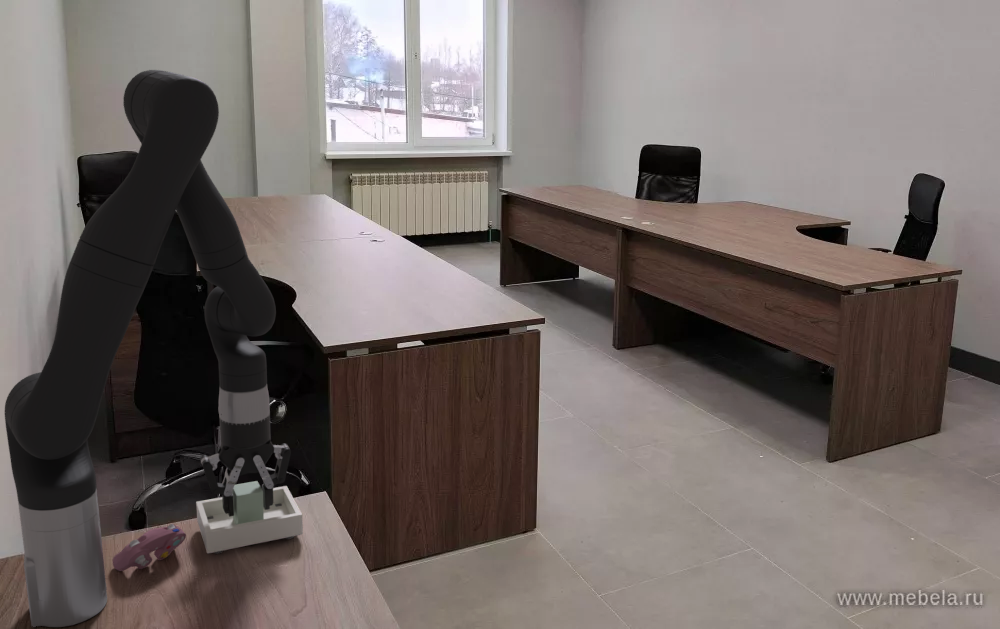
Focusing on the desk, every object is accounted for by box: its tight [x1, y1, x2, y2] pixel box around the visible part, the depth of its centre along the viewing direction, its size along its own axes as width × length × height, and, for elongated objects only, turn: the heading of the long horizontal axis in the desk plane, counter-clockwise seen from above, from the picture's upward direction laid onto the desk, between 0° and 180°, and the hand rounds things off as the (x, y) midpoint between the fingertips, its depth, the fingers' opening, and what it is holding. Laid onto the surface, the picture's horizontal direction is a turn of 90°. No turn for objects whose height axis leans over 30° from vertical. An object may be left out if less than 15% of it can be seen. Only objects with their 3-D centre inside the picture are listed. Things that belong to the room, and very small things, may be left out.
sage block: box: [232, 480, 264, 525], centre depth 133 cm, size 4×4×6 cm
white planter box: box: [195, 485, 304, 555], centre depth 133 cm, size 15×11×5 cm
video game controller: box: [112, 523, 187, 572], centre depth 124 cm, size 10×5×7 cm, turn 144°
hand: (248, 510), depth 133 cm, fingers open, 5 cm apart
